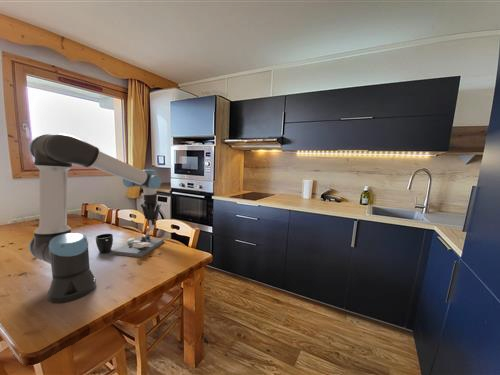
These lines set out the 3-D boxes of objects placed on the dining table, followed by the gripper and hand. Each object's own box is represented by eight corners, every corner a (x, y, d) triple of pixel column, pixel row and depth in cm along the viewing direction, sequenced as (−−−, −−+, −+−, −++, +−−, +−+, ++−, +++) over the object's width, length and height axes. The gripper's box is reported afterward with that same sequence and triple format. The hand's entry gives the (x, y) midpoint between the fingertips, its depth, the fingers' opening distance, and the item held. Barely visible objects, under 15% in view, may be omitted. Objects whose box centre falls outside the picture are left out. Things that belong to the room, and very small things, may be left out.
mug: (98, 257, 115) (97, 241, 114) (95, 250, 124) (94, 235, 123) (116, 253, 121) (115, 238, 119) (112, 247, 129) (111, 232, 128)
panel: (141, 257, 117) (140, 248, 116) (112, 254, 120) (112, 246, 119) (163, 241, 140) (163, 234, 139) (139, 239, 142) (139, 232, 142)
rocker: (139, 247, 117) (140, 244, 117) (132, 247, 118) (133, 244, 118) (150, 245, 127) (151, 242, 127) (144, 244, 127) (144, 241, 128)
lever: (146, 240, 135) (149, 228, 133) (142, 238, 135) (146, 226, 134) (149, 238, 138) (152, 226, 136) (145, 237, 138) (148, 225, 136)
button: (132, 244, 128) (132, 241, 128) (125, 244, 129) (125, 240, 128) (137, 242, 132) (136, 238, 132) (130, 241, 133) (130, 237, 133)
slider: (138, 247, 125) (138, 242, 125) (132, 246, 126) (132, 241, 125) (141, 245, 127) (140, 240, 127) (135, 244, 128) (135, 240, 128)
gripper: (162, 193, 135) (164, 228, 138) (144, 192, 137) (146, 227, 140) (155, 195, 127) (157, 232, 130) (137, 194, 129) (139, 230, 132)
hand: (151, 229), depth 135 cm, fingers closed
